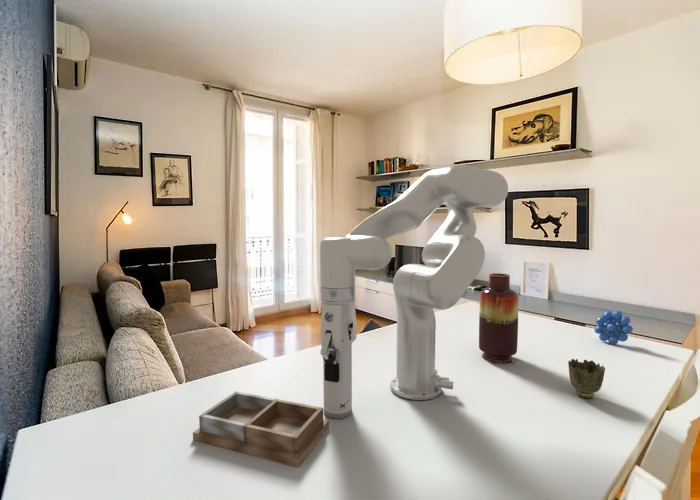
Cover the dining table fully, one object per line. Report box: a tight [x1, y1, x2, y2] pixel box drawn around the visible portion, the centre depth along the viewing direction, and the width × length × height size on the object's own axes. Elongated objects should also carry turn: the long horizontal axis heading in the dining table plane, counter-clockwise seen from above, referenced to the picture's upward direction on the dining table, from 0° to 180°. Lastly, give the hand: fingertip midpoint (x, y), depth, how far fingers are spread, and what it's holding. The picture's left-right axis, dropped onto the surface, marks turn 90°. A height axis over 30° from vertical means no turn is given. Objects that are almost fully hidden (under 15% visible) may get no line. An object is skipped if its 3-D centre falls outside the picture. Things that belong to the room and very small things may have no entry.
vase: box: [478, 272, 520, 364], centre depth 112 cm, size 11×11×26 cm
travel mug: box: [322, 323, 353, 420], centre depth 80 cm, size 6×7×20 cm
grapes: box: [594, 310, 634, 345], centre depth 125 cm, size 12×7×12 cm, turn 28°
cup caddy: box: [192, 391, 330, 468], centre depth 72 cm, size 23×13×4 cm, turn 70°
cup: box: [567, 358, 606, 400], centre depth 87 cm, size 8×7×8 cm
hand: (338, 373), depth 80 cm, fingers closed on travel mug, 6 cm apart
